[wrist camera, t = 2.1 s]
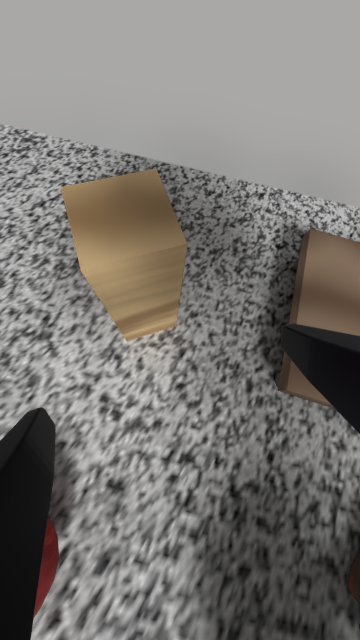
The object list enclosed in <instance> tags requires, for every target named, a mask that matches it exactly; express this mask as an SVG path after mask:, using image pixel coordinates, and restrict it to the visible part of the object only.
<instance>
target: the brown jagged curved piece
mask: <svg viewBox="0 0 360 640" xmlns="http://www.w3.org/2000/svg"><path fill="white" fill-rule="evenodd" d="M348 589H349V591H350V592H351V594H352V595H353V596H354V597H355V598H356V599H357V601H358V602H359V604H360V549H359V550H358V553H357V556H356V557H355V559H354V560H353V564H352V566H351V570H350V574H349V580H348ZM359 628H360V624H359Z"/></svg>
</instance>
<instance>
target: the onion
mask: <svg viewBox="0 0 360 640" xmlns="http://www.w3.org/2000/svg"><path fill="white" fill-rule="evenodd" d="M58 561H59V551H58V537H57V533H56V531H55V529H54V527H53V525H52V522H51V520H49V519H48V521H47V528H46V535H45V542H44V549H43V556H42V562H41V569H40V576H39V583H38V590H37V597H36V604H35V611H34V617H35V615H36V614H37V613H38V611H39V609H40V607H41V605H42V604H43V602H44V600H45V598H46V596H47V594H48V592H49V590H50V588H51V585H52V583H53V581H54V577H55V573H56V569H57V565H58Z"/></svg>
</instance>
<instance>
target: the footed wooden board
mask: <svg viewBox="0 0 360 640" xmlns="http://www.w3.org/2000/svg"><path fill="white" fill-rule="evenodd" d="M294 269H295V271H296V272H297V274H296V281H295V287H294V293H293V300H292V306H291V312H290V319H289V324H291V323H294V324H299V325H304V326H310V327H315V328H320V329H326V330H331V331H336V332H342V333H347V334H352V335H358V336H360V242H356V241H353V240H349V239H345V238H342V237H338V236H335V235H331V234H328V233H324V232H321V231H317V230H314V229H310V230H309V231H308V232H307V233H306V235H305V236H304V237H303V238H302V243H301V249H300V255H299V258H298V259H297V261H296V262H295V263H294ZM275 383H276V385H277V387H278V391H281V392H284V393H287V394H290V395H293V396H297V397H300V398H303V399H306V400H309V401H312V402H316V403H319V404H322V405H325V406H328V407H331V408H334V407H333V406H332V405H331V404H330V403H329V402H328V401H327V400H326V399H325V398H324V397H323V396H322V395H321V393H320V392H319V391H318V390H317V389H316V388H315V387H314V386H313V385H312V384H311V383H310V382H309V381H308V380H307V379H306V378H305V376H304V375H303V374H302V373H301V371H300V370H299V369H298V368H297V366H296V365H295V364H294V363H293V361H292V360H291V359H290V358H289V356H288V355H287V354H286V353H285V351H284V357H283V363H282V369H281V371H280V372H278V373H277V374H276V376H275Z"/></svg>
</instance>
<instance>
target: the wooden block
mask: <svg viewBox="0 0 360 640" xmlns="http://www.w3.org/2000/svg"><path fill="white" fill-rule="evenodd" d="M61 190H62V194H63V198H64V202H65V207H66V211H67V215H68V219H69V223H70V227H71V232H72V236H73V240H74V244H75V248H76V252H77V256H78V261H79V265H80V269H81V272H82V273H83V275H84V276H85V278H86V279H87V281H88V282H89V284H90V285H91V287H92V288H93V290H94V292H95V293H96V295H97V296H98V298H99V299H100V301H101V302H102V304H103V305H104V307H105V308H106V310H107V311H108V313H109V314H110V316H111V318H112V319H113V321H114V322H115V324H116V325H117V327H118V328H119V330H120V331H121V333H122V334H123V336H124V337H125V339H126V340H127V341H129V340H132V339H135V338H139V337H142V336H145V335H148V334H152V333H155V332H158V331H161V330H165V329H168V328H171V327H174V326H176V323H177V316H178V308H179V301H180V294H181V286H182V279H183V272H184V264H185V257H186V250H187V242H186V239H185V237H184V234H183V232H182V230H181V227H180V225H179V222H178V220H177V217H176V215H175V213H174V210H173V208H172V205H171V203H170V200H169V198H168V196H167V193H166V191H165V188H164V186H163V184H162V181H161V179H160V176H159V174H158V171H157V169H151V170H146V171H141V172H136V173H130V174H125V175H120V176H115V177H110V178H105V179H100V180H95V181H90V182H85V183H80V184H75V185H70V186H65V187H61Z"/></svg>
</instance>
